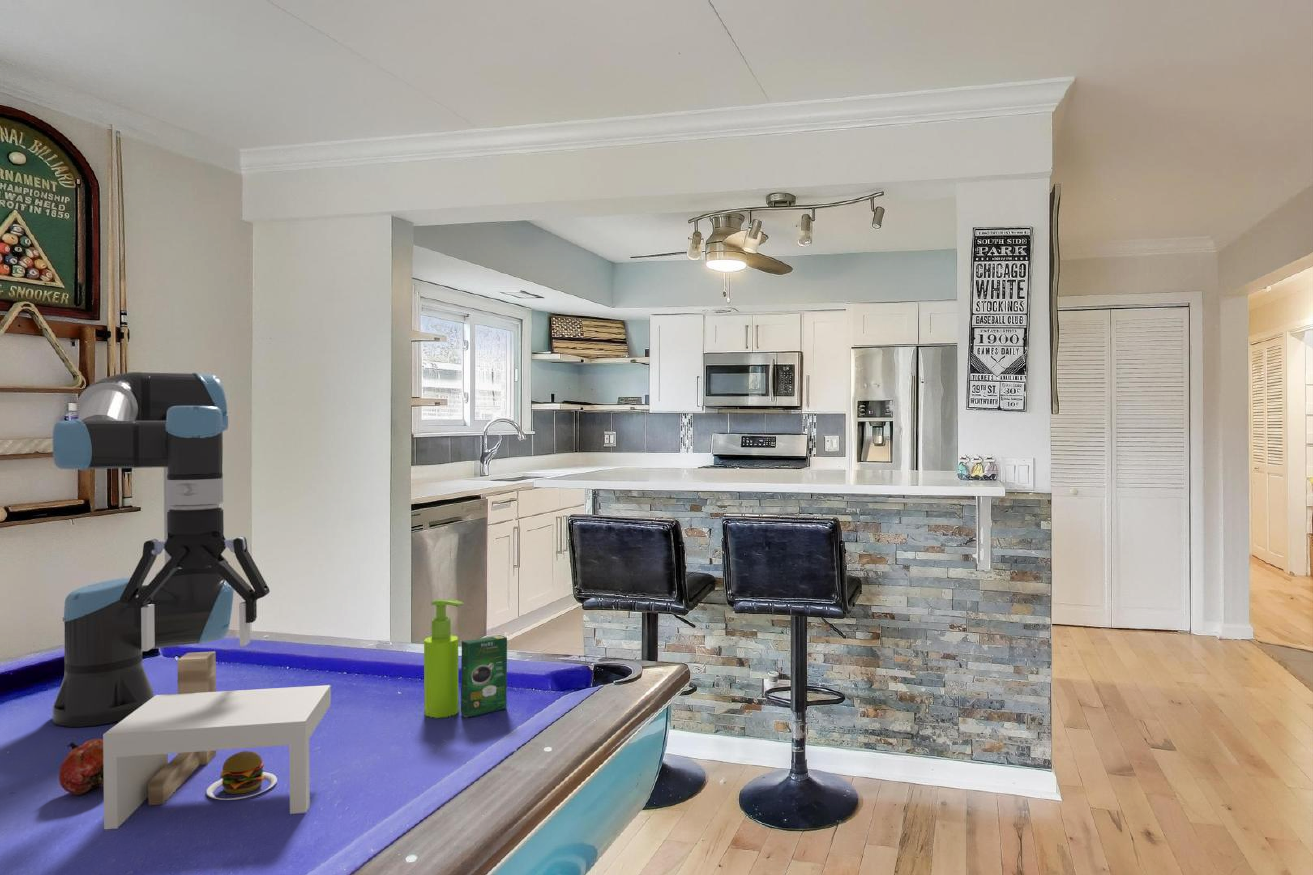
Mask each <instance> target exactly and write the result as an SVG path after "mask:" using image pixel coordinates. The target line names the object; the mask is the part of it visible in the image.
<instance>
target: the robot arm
mask: <svg viewBox="0 0 1313 875" xmlns="http://www.w3.org/2000/svg"><path fill="white" fill-rule="evenodd" d="M76 412H77V416H78V417H77V418H75V419H72V420H59V421H57V422H55V424H54V426H53V430H52V456H53V462H54V465H55V466H56V468H59V469H62V470H79V471H87V470H100V469H101V470H106V469H112V470H113V469H131V468H132V469H133V468H134V469H138V468H140V469H144V468H145V469H146V468H149V469H150V468H151V469H153V468H155V469H156V468H163V510H164V511H163V523H164V524H163V527H164V530H163V531H164V536H163V537H164V539H163V540H164V541H163V540H160V541H159V540H158V539H156V538H154V539H150V540H147V541H144V542H143V548H142V555H141V557H140V560H139V561H138V564H137V565H136V567H135V569H134V571H133V573H132V574H131V576H130V577H126V578H124V577H123V578H118V579H117V578H116V579H115V578H114V579H112V580H106V581H101V582H97V583H96V582H95V583H92V584H87V585H84V586H81V587H79V588H77V589H74V590H73V591H70V593H68V595H67V596H66V597H65V599H64V610H63V616H62V622H63V623H64V676H63V679H62V682H61V685H60V687H59V690H58V693H57V695H56V697H55V698H56V699H55V701H54V703H53V707H52V722H53V723H54V725H57V726H62V727H69V728H70V727H75V728H76V727H92V726H100V725H107V724H110V723H116V722H120V721H122V720H123V719H124V718H126V717H127V716H128V715H130V714H131V713H133V712H134V711H135V710H137V709H138V708H139V707H141V706H142V705H143V704H145V703H146V702H147V701H149V700H150V699H151V698H153V697H154V696H155V693H154V691H153V688H152V685H151V683H150V680H149V678H148V675H147V673H146V671H145V668H144V665H143V652H148V651H150V650H154V649H161V648H163V649H164V648H169V647H178V646H187V645H194V644H198V645H202V644H203V643H209V642H215V641H216V642H217V641H220V640H222V639H224V638H225V637H226V636H227V634H228V632H229V629H230V624H231V619H232V612H233V611H232V610H233V605H234V604H233V601H234V595H235V594H234V592H236V593H237V594H238V595H239V596H240V597H241V599H243V601H241V602H239V603H238V617H239V618H238V620H239V622H238V625H239V626H238V627H239V628H238V629H239V632H238V633H239V640H238V642H239V647H245V646H247V645H248V644H250V642H251V623H254V622H255V621H256V620H257V617H258V616H257V614H258V611H257V609H258V608H257V607H258V605H257V602H258V599H259V600H260V599H261V598H265V597H266V596H268V595H269V593H270V588H269V586H268V584H267V582H266V581H265V579H264V577H263V575H262V574H261V572H260V570H259V567H258V566H257V565H256V563H255V561H254V559H253V558H252V555H251V554H250V552H249V550H248V543H247V542H248V541H247V538H246V537H245V536H238V537H236V538H230V539H226V537H225V534H224V532H225V531H224V528H225V527H224V526H225V525H224V509H223V508H222V507H220V505H221V504H223V503H224V474H223V453H224V452H223V448H224V446H223V442H224V441H223V439H224V438H223V437H224V435H223V434H224V433H223V432H224V431H227V430H228V428H229V414H228V404H227V398H226V394H225V390H224V386H223V383H222V381H221V379H220V378H219V377H217V375H213V374H204V373H203V374H202V373H197V372H192V373H185V372H184V373H181V372H176V373H175V372H142V371H129V372H123V373H118V374H117V373H116V374H114V375H110V376H107V377H104V378H101V379H99V380H97V381H95V382H93V383H91V384H90V385H88V386H87V387H85V389H83V391H81V393H80V396H79V397H78V400H77V402H76ZM227 548H229V550H230V552H231V553H233V554H234V556H235V558H236V559H237V562H238V564H239V565H240V567H241V568H242V570H243V573H244V575H245V576H246V578H247V579H248V581H249V583H248V582H247V581H246V580H244V579H243V577H242V576H241V575H240V574H239V573H238V572H237V571H236V570H235V569H234V568H233V567H232V566H231V565H230V564H229V561H228V560H227V559H226V558H225V557H224V556H223V555H222V554H223V552H224V551H225V550H226V549H227ZM163 550H164V566H163V567H162V568H161V569H159V570H158V572H156V573H155V576H154V577H153V579H152V580H151V581H150V582H149V583H148V584H147V585H146V584H144V582H145V580H146V578H147V577H148V575H149V574H150V571H151V569H152V567H153V565H154V563H155V562H156V559H157V556H158V555H161V554H162V552H163ZM249 584H250V585H251V586H250V585H249Z"/></svg>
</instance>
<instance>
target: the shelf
mask: <svg viewBox="0 0 1313 875" xmlns="http://www.w3.org/2000/svg"><path fill="white" fill-rule="evenodd" d="M331 689H332V687H331V684H325V685H324V684H323V685H309V686H307V685H306V686H294V687H293V686H290V687H278V688H277V687H276V688H273V687H272V688H260V689H259V688H256V689H241V690H225V691H224V690H222V691H216V692H203V693H185V694H178V693H173V694H172V693H170V694H156V695H155V694H154V697H153V698H151V699H150V700H149V701H147V702H146V703H145V704H143V705H142V706H141V707H139V708H138V709H137V710H135V711H134V712H133V713H131V714H130V715H128V716H127V717H126V718H124V719H123V720H121V721H118V723H117V724H114V726H112V727H111V728H109V729H108V730H107V731H106V732H104V733H103V734H102V740H103V764H104V786H103V829H104V830H113V829H119V827H121V825H122V824H123V823H124V822H126V821H127V819H129V817H130V816H131V815H132V814H134V812H135V811H136V810H137V809H138V808H140V806H141V805H142V804H143V803H144V802H145V801H146V800H147V799H148V798H147V797H148V783H149V782H150V781H151V780H152V779H153V778H154V777H155V776H156V775H157V774H158V773H159V772H160V771H161V770H162V769H163V768H164V767H165V766H166V765H167V764H168V763H169V761H168V759H169V757H168V756H169V754H178V753H184V752H198V751H213V750H216V751H224V750H236V749H237V750H239V749H253V748H268V747H269V748H270V747H281V746H289V748H288V751H289V753H288V756H289V757H288V758H289V815H294V814H306V813H307V812H308V810H309V808H310V806H311V802H310V799H311V798H310V797H311V796H310V792H311V791H310V784H311V783H310V738H311V736H312V735H313V733H314V732H315V730H316V729H317V727H318V726H319V724H320V722H321V721H322V720H323V718H324V716H325V715H326V713H327V712H328V710H329V708H330V707H331V705H332V701H331V700H332V696H331V695H332V694H331V693H332V692H331V691H332V690H331ZM144 800H145V801H144ZM143 801H144V802H143Z"/></svg>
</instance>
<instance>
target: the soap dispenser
mask: <svg viewBox="0 0 1313 875" xmlns="http://www.w3.org/2000/svg"><path fill="white" fill-rule="evenodd" d="M464 602H465V601H464ZM464 602H463V601H460V600H457V599H452V598H451V599H449V598H447V599H444V598H443V599H435V600H433V601H431V603H430V604H431V606H435V616H434V617H433V618H432V619H431V620H430V621H431V622H430V628H431V630H430V631H431V632H430V633H431V634H430V635H431V636H428V637H426V638H424V639H423V658H424V659H423V660H424V661H423V662H424V663H423V667H424V668H423V671H424V672H423V673H424V674H423V676H424V679H423V681H424V684H423V685H424V689H423V690H424V716H426V717H428V716H429V717H428V718H432V717H434V718H436V719H441V718H442V717H443V718H449V717H452V716H455V715H457V714H458V713H459V710H460V706H459V705H460V702H459V697H460V696H459V694H460V692H459V691H460V690H459V637H458V636H456V635H452V618H450V617H449V616H446V615H447V612H446V611H447V606H453V607H456V608H458V607H461V606H462V605H463V604H464ZM451 715H452V716H451ZM448 716H449V717H448ZM443 718H442V719H443Z"/></svg>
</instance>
